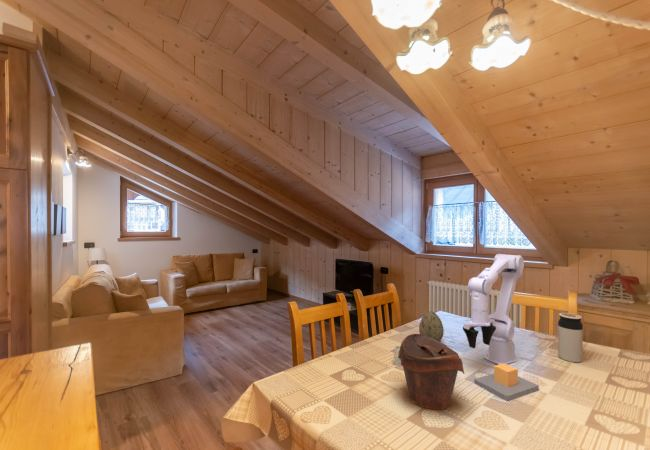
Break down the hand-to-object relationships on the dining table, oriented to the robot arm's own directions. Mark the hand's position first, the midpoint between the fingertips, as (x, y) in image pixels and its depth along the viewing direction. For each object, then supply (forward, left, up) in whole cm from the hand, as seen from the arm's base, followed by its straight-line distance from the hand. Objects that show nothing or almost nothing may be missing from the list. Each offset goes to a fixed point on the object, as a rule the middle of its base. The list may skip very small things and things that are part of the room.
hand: (479, 345), depth 118 cm
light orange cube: (+2, +12, -8) cm, 15 cm away
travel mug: (-44, +8, -10) cm, 46 cm away
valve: (+20, -16, -10) cm, 28 cm away
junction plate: (+2, +12, -9) cm, 15 cm away
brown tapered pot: (+31, +7, -10) cm, 33 cm away
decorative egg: (-3, -28, -10) cm, 30 cm away
